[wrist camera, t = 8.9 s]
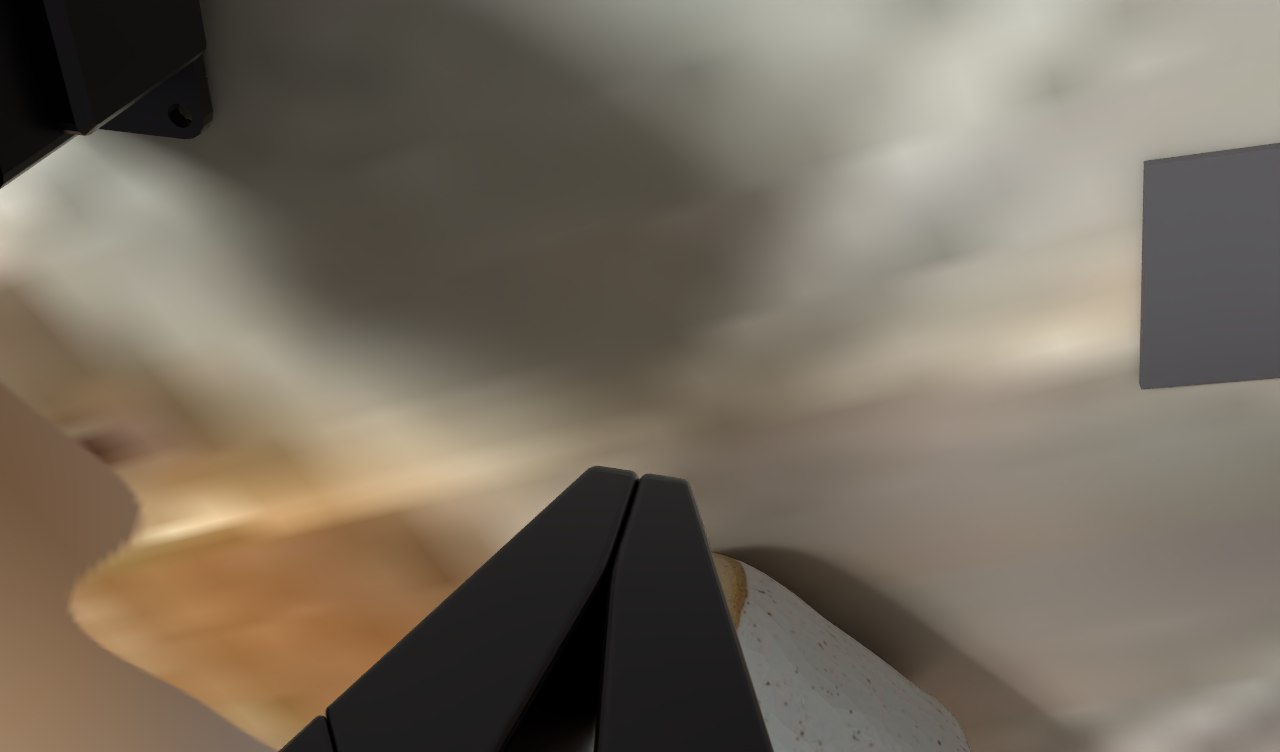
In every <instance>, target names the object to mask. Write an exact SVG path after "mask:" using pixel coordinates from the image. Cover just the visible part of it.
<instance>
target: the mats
mask: <svg viewBox="0 0 1280 752" xmlns="http://www.w3.org/2000/svg"><path fill="white" fill-rule="evenodd" d="M1270 378H1280V143H1276V144H1269V145H1261V146H1254V147H1246V148H1239V149H1231V150H1224V151H1216V152H1209V153H1201V154H1194V155H1186V156H1179V157H1171V158H1164V159H1156V160H1149V161H1144V184H1143V233H1142V283H1141V332H1140V381H1139V384H1140V387H1141V389H1151V388H1163V387H1175V386H1187V385H1198V384H1210V383H1222V382H1234V381H1246V380H1258V379H1270Z"/></svg>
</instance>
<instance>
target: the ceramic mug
mask: <svg viewBox="0 0 1280 752" xmlns="http://www.w3.org/2000/svg"><path fill="white" fill-rule="evenodd" d="M712 554H713V557H714V561H715V564H716V567H717V570H718V573H719V577H720V580H721V583H722V586H723V589H724V593H725V596H726V599H727V602H728V605H729V609H730V612H731V615H732V618H733V621H734V625H735V628H736V631H737V634H738V637H739V641H740V644H741V647H742V650H743V654H744V657H745V660H746V663H747V666H748V670H749V673H750V676H751V679H752V682H753V686H754V689H755V692H756V695H757V698H758V702H759V705H760V708H761V711H762V714H763V718H764V721H765V724H766V727H767V730H768V734H769V737H770V740H771V743H772V746H773V750H774V752H970V748H969V745H968V742H967V740H966V738H965V735H964V733H963V731H962V729H961V727H960V725H959V723H958V721H957V720H956V719H955V717H954V716H953V715H952V714H951V713H950V712H949V711H948V710H947V709H946V708H945V707H944V706H943V705H942V704H941V703H940V702H939V701H937V700H936V699H935V698H933V697H932V696H931V695H929V694H928V693H926V692H925V691H923V690H922V689H920V688H919V687H917V686H916V685H914V684H913V683H911V682H910V681H909V680H907V679H906V678H905V677H904V676H903V675H901V674H900V673H899V672H898V671H896V670H895V669H894V668H893V667H891V666H890V665H889V664H888V663H886V662H885V661H884V660H882V659H881V658H879V657H878V656H877V655H875V654H874V653H873V652H871V651H870V650H868V649H867V648H866V647H864V646H863V645H862V644H860V643H859V642H857V641H856V640H855V639H853V638H852V637H850V636H849V635H848V634H846V633H845V632H843V631H842V630H840V629H839V628H838V627H836V626H835V625H833V624H832V623H831V622H829V621H828V620H826V619H825V618H824V617H822V616H821V615H820V614H818V613H817V612H816V611H815V610H814V609H812V608H811V607H810V606H809V605H808V604H806V603H805V602H804V601H803V600H801V599H800V598H799V597H798V596H797V595H795V594H794V593H793V592H791V591H790V590H788V589H787V588H785V587H784V586H782V585H781V584H779V583H778V582H777V581H775V580H774V579H772V578H771V577H769V576H768V575H766V574H765V573H763V572H761V571H759V570H757V569H755V568H753V567H751V566H749V565H748V564H746V563H744V562H741V561H738V560H736V559H733V558H730V557H728V556H725V555H721V554H717V553H712ZM593 750H594V748H593ZM592 752H593V751H592Z"/></svg>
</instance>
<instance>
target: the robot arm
mask: <svg viewBox="0 0 1280 752" xmlns="http://www.w3.org/2000/svg"><path fill="white" fill-rule="evenodd" d="M205 49H206V39H205V34H204V28H203V23H202V17H201V12H200V6H199V1H198V0H0V189H1V188H3V187H4V186H5V185H7V184H8V183H10V182H11V181H13V180H14V179H15V178H17V177H18V176H20V175H21V174H23V173H24V172H25V171H27V170H28V169H30V168H31V167H33V166H34V165H36V164H37V163H38V162H40V161H41V160H43V159H44V158H46V157H47V156H48V155H50V154H51V153H53V152H54V151H56V150H57V149H59V148H60V147H61V146H63V145H64V144H66V143H67V142H69V141H70V140H71V139H73V138H74V137H76V136H77V135H84V136H85V135H89V134H92V133H93V132H94V131H96V130H97V129H105V130H113V131H121V132H130V133H138V134H147V135H155V136H163V137H172V138H180V139H191V138H194V137H196V136H198V135H199V134H201V133H202V132H203V131H204V130H205V129H207V128H208V127H209V126H210V124H211V122H212V120H213V109H212V104H211V98H210V93H209V87H208V82H207V77H206V71H205V66H204V60H203V55H202V52H203V51H204V50H205ZM178 104H180V105H183V106H185V107H186V108H187V109H188V110H189V111H190V114H191V116H192V120H190V119H187V118H185V117H184V116H183V115H182V114H181V113H180V111H179V109H178ZM325 716H326V718H325V717H324V716H321V715H320V716H317V717H316V718H314V719H313V720H312V721H311V722H310V723H309V724H308V725H307V726H306V727H305V728H304V729H303V730H302V731H300V732H299V733H298V734H297V735H296V736H295V737H294V738H293V739H292V740H291V741H290V742H288V743H287V744H286V745H285V746H284V747H283V748H282V749H281V750H279V751H278V752H592V751H593V752H774V750H773V746H772V743H771V740H770V737H769V734H768V730H767V727H766V724H765V721H764V718H763V714H762V711H761V708H760V705H759V702H758V698H757V695H756V692H755V689H754V686H753V682H752V679H751V676H750V673H749V670H748V666H747V663H746V660H745V657H744V654H743V650H742V647H741V644H740V641H739V637H738V634H737V631H736V628H735V625H734V621H733V618H732V615H731V612H730V609H729V605H728V602H727V599H726V596H725V593H724V589H723V586H722V583H721V580H720V577H719V573H718V570H717V567H716V564H715V561H714V557H713V554H712V551H711V548H710V545H709V541H708V538H707V535H706V532H705V529H704V525H703V522H702V519H701V516H700V513H699V509H698V506H697V503H696V500H695V496H694V493H693V490H692V487H691V485H690V484H689V482H688V481H686V480H685V479H681V478H675V477H668V476H662V475H655V474H645V475H643V476H642V477H641V479H640V480H639V477H638V475H637V474H636V473H635V472H633V471H629V470H622V469H616V468H609V467H603V466H594V467H591V468H589V469H588V470H586V471H585V472H584V473H583V474H582V475H581V476H580V477H579V478H578V479H577V480H576V481H574V482H573V483H572V484H571V485H570V486H569V487H568V488H567V489H566V490H565V491H563V492H562V493H561V494H560V495H559V496H558V497H557V498H556V499H555V500H554V501H553V502H551V503H550V504H549V505H548V506H547V507H546V508H545V509H544V510H543V511H542V512H541V513H539V514H538V515H537V516H536V517H535V518H534V519H533V520H532V521H531V522H530V523H529V524H527V525H526V526H525V527H524V528H523V529H522V530H521V531H520V532H519V533H518V534H516V535H515V536H514V537H513V538H512V539H511V540H510V541H509V542H508V543H507V544H506V545H504V546H503V547H502V548H501V549H500V550H499V551H498V552H497V553H496V554H495V555H494V556H492V557H491V558H490V559H489V560H488V561H487V562H486V563H485V564H484V565H483V566H481V567H480V568H479V569H478V570H477V571H476V572H475V573H474V574H473V575H472V576H471V577H469V578H468V579H467V580H466V581H465V582H464V583H463V584H462V585H461V586H460V587H459V588H457V589H456V590H455V591H454V592H453V593H452V594H451V595H450V596H449V597H448V598H447V599H445V600H444V601H443V602H442V603H441V604H440V605H439V606H438V607H437V608H436V609H434V610H433V611H432V612H431V613H430V614H429V615H428V616H427V617H426V618H425V619H424V620H422V621H421V622H420V623H419V624H418V625H417V626H416V627H415V628H414V629H413V630H412V631H410V632H409V633H408V634H407V635H406V636H405V637H404V638H403V639H402V640H401V641H400V642H398V643H397V644H396V645H395V646H394V647H393V648H392V649H391V650H390V651H389V652H387V653H386V654H385V655H384V656H383V657H382V658H381V659H380V660H379V661H378V662H377V663H375V664H374V665H373V666H372V667H371V668H370V669H369V670H368V671H367V672H366V673H365V674H363V675H362V676H361V677H360V678H359V679H358V680H357V681H356V682H355V683H354V684H352V685H351V686H350V687H349V688H348V689H347V690H346V691H345V692H344V693H343V694H342V695H340V696H339V697H338V698H337V699H336V700H335V701H334V702H333V703H332V704H331V705H330V706H328V707H327V708H326V710H325ZM593 748H594V750H593Z"/></svg>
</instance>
